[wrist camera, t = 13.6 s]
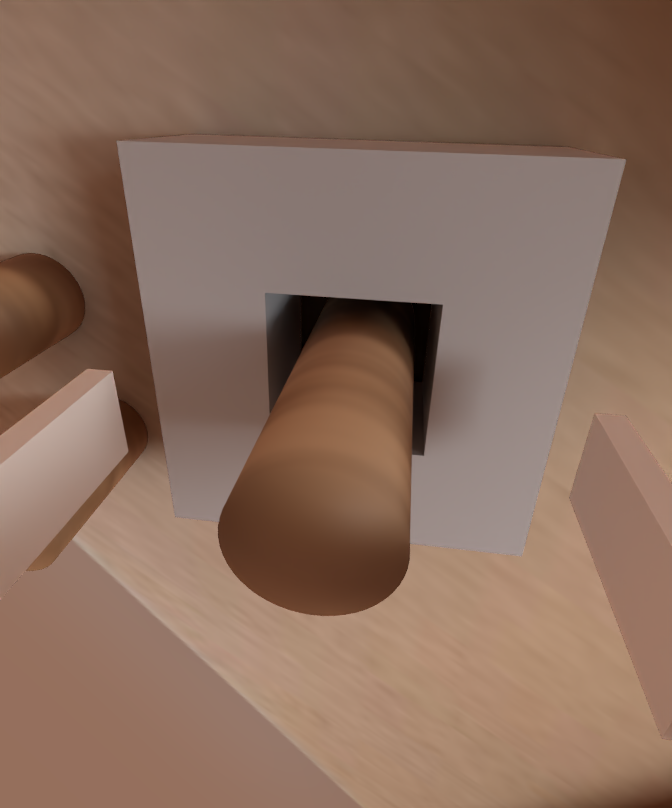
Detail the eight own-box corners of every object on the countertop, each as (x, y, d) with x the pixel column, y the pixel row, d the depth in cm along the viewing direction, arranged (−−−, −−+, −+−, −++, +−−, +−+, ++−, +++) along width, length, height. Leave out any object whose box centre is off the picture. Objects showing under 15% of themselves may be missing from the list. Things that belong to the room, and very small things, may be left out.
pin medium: (66, 392, 27) (-54, 487, 20) (141, 398, 27) (44, 498, 20) (83, 456, 29) (-23, 564, 22) (152, 463, 29) (67, 576, 22)
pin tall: (323, 272, 22) (209, 458, 10) (419, 278, 22) (419, 479, 10) (322, 359, 24) (225, 603, 12) (410, 366, 24) (401, 626, 12)
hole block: (193, 134, 20) (116, 140, 15) (568, 147, 19) (626, 159, 14) (221, 439, 27) (175, 517, 22) (500, 466, 26) (521, 556, 21)
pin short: (-8, 250, 24) (-103, 280, 20) (75, 255, 24) (-3, 287, 19) (15, 333, 26) (-66, 377, 22) (92, 340, 26) (25, 386, 21)
